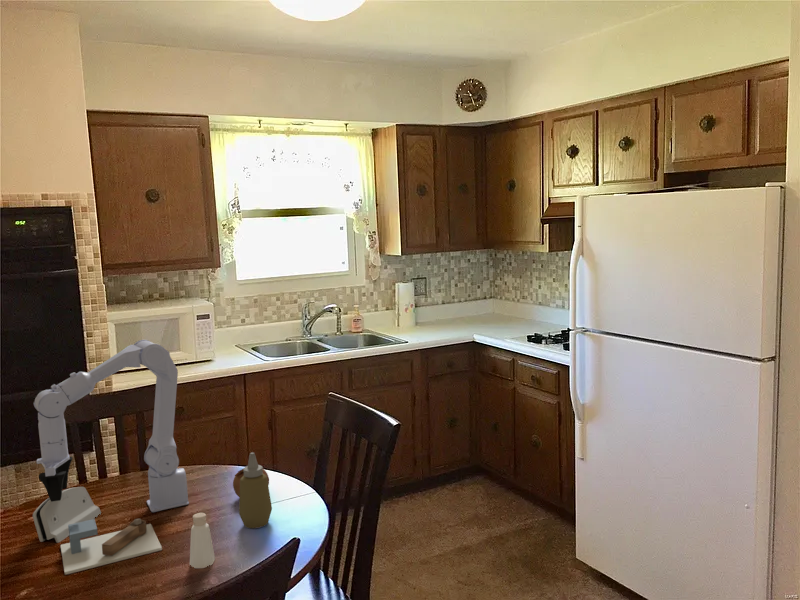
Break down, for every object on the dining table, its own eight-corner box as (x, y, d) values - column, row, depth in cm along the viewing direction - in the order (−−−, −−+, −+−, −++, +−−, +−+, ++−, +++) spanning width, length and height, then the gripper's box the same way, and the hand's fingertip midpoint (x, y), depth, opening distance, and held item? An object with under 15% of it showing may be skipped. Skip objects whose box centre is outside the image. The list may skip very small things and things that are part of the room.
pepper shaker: (191, 571, 144) (187, 522, 143) (188, 559, 149) (184, 512, 147) (216, 565, 146) (213, 517, 145) (213, 554, 151) (210, 507, 150)
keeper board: (150, 525, 166) (149, 504, 166) (162, 549, 154) (160, 526, 153) (60, 547, 156) (58, 524, 156) (64, 574, 144) (62, 550, 143)
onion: (243, 514, 178) (226, 487, 174) (242, 491, 187) (226, 465, 182) (276, 499, 179) (260, 472, 175) (273, 477, 188) (258, 451, 183)
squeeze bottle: (279, 522, 166) (275, 452, 164) (251, 534, 160) (247, 461, 158) (260, 513, 171) (256, 445, 169) (232, 524, 165) (228, 454, 163)
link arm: (136, 528, 163) (135, 516, 162) (149, 530, 162) (148, 517, 161) (100, 554, 150) (99, 540, 150) (114, 555, 149) (112, 542, 149)
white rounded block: (57, 543, 158) (41, 504, 158) (41, 548, 160) (25, 509, 159) (102, 512, 175) (88, 477, 174) (88, 517, 176) (73, 482, 175)
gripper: (41, 433, 166) (46, 485, 168) (28, 451, 153) (33, 508, 154) (72, 429, 169) (77, 481, 170) (62, 447, 155) (67, 504, 156)
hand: (58, 494), depth 162 cm, fingers open, 7 cm apart
